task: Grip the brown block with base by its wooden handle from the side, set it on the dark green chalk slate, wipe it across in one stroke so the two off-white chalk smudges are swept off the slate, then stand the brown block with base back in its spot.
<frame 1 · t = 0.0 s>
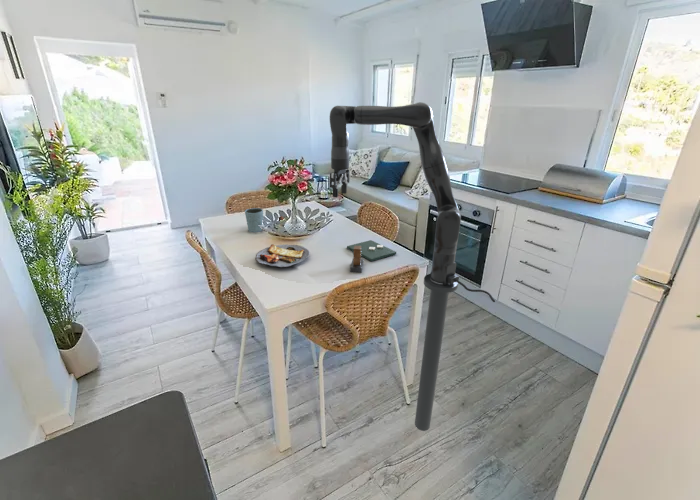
hand: (339, 195, 152), 31 cm above the table, tool pointing down, fingers open, 8 cm apart
slate: (371, 251, 176), on the table
food plate: (282, 258, 165), on the table
brown block with base: (356, 267, 157), on the table
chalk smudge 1: (372, 249, 175), point 1 cm above the table, touching slate
chalk smudge 2: (380, 247, 178), point 1 cm above the table, touching slate
pottery mug: (283, 228, 207), on the table
grey-green cup: (255, 230, 202), on the table
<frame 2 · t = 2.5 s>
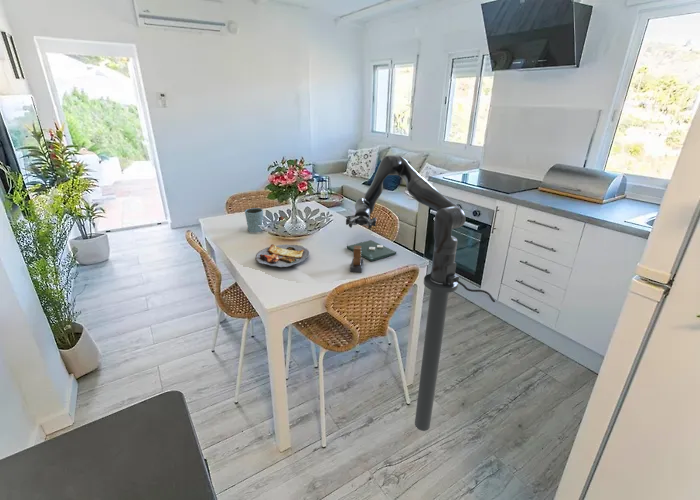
hand: (360, 226, 161), 16 cm above the table, tool horizontal, fingers open, 8 cm apart
nothing on the table moved.
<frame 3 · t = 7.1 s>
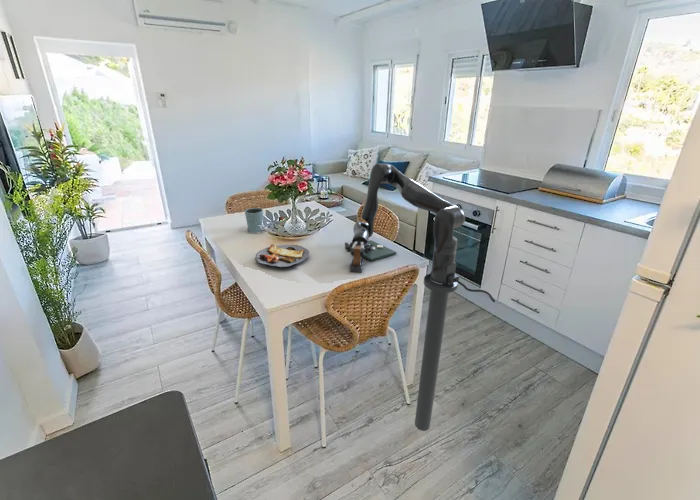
hand: (356, 254, 151), 8 cm above the table, tool horizontal, fingers closed on brown block with base, 3 cm apart
brown block with base: (357, 267, 157), on the table, touching gripper
everything else where it was.
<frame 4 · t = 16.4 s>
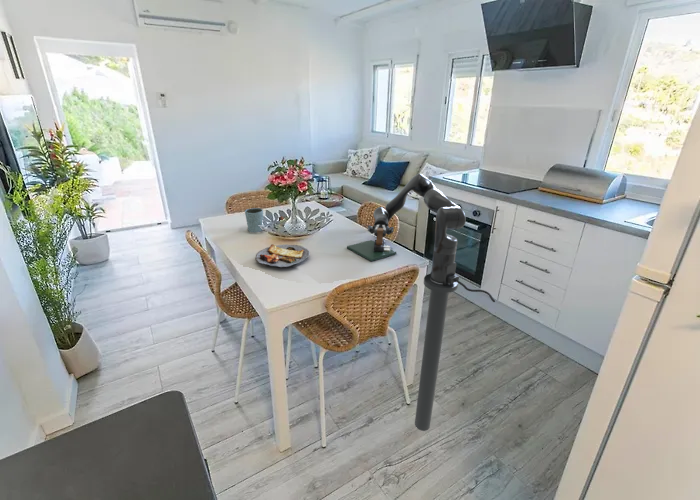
hand: (379, 234, 171), 10 cm above the table, tool horizontal, fingers closed on brown block with base, 3 cm apart
brown block with base: (379, 247, 176), point 1 cm above the table, touching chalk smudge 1, gripper
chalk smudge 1: (386, 250, 174), point 1 cm above the table, touching brown block with base, slate
chalk smudge 2: (387, 247, 178), point 1 cm above the table, touching slate
everything else where it was.
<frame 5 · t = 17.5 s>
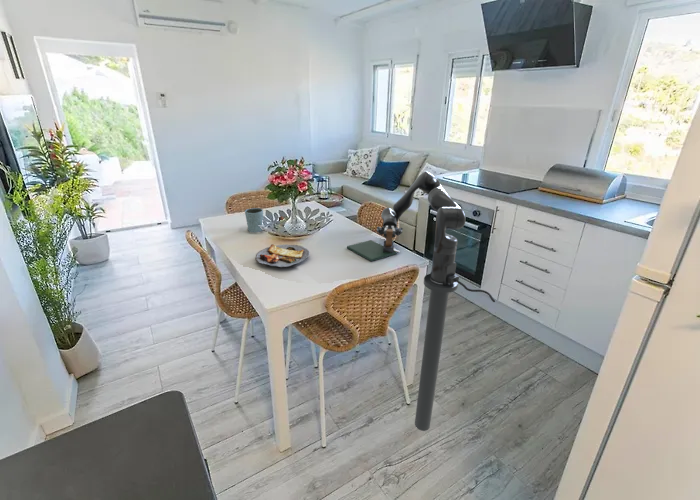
hand: (389, 235, 170), 9 cm above the table, tool horizontal, fingers closed on brown block with base, 3 cm apart
brown block with base: (388, 248, 176), point 1 cm above the table, touching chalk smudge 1, gripper
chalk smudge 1: (396, 251, 174), point 1 cm above the table, tilted 21°, touching brown block with base
chalk smudge 2: (392, 249, 178), on the table
everything else where it was.
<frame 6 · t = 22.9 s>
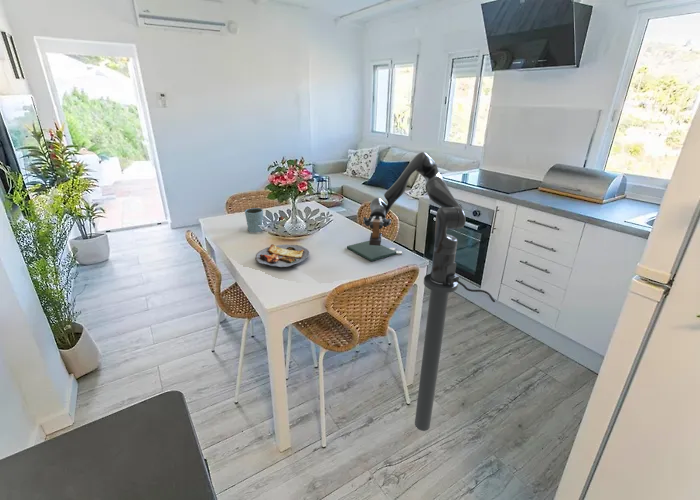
hand: (376, 226, 155), 18 cm above the table, tool horizontal, fingers closed on brown block with base, 3 cm apart
brown block with base: (375, 241, 161), point 10 cm above the table, touching gripper
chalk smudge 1: (398, 252, 174), on the table
everything else where it was.
when the fingers open (8 cm above the table, at t = 27.3 s): brown block with base stays where it is, on the table.
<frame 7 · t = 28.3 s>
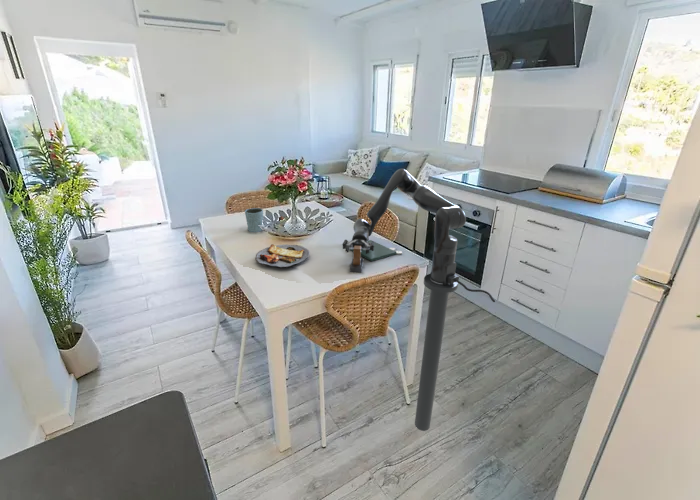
hand: (357, 251, 152), 9 cm above the table, tool horizontal, fingers open, 8 cm apart
brown block with base: (356, 267, 157), on the table
everything else where it was.
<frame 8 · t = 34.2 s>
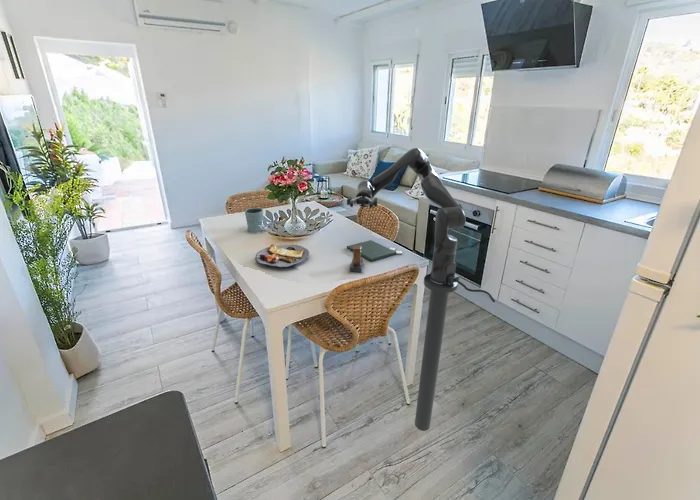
hand: (361, 205, 158), 26 cm above the table, tool horizontal, fingers open, 8 cm apart
nothing on the table moved.
at the end: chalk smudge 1 touching table; chalk smudge 2 touching table; brown block with base inside the target area (0.1 cm from its centre), on the table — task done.
